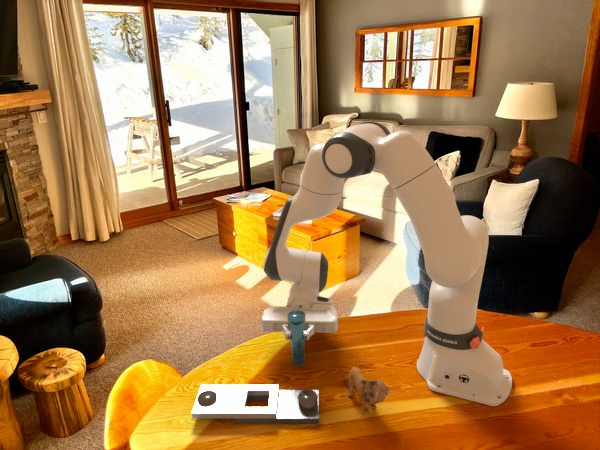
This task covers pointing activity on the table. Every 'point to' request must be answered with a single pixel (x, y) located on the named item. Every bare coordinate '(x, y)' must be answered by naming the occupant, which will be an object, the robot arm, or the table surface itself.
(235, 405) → the latch plate
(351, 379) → the lion figurine
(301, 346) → the pin
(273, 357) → the table surface
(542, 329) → the table surface
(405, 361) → the table surface
